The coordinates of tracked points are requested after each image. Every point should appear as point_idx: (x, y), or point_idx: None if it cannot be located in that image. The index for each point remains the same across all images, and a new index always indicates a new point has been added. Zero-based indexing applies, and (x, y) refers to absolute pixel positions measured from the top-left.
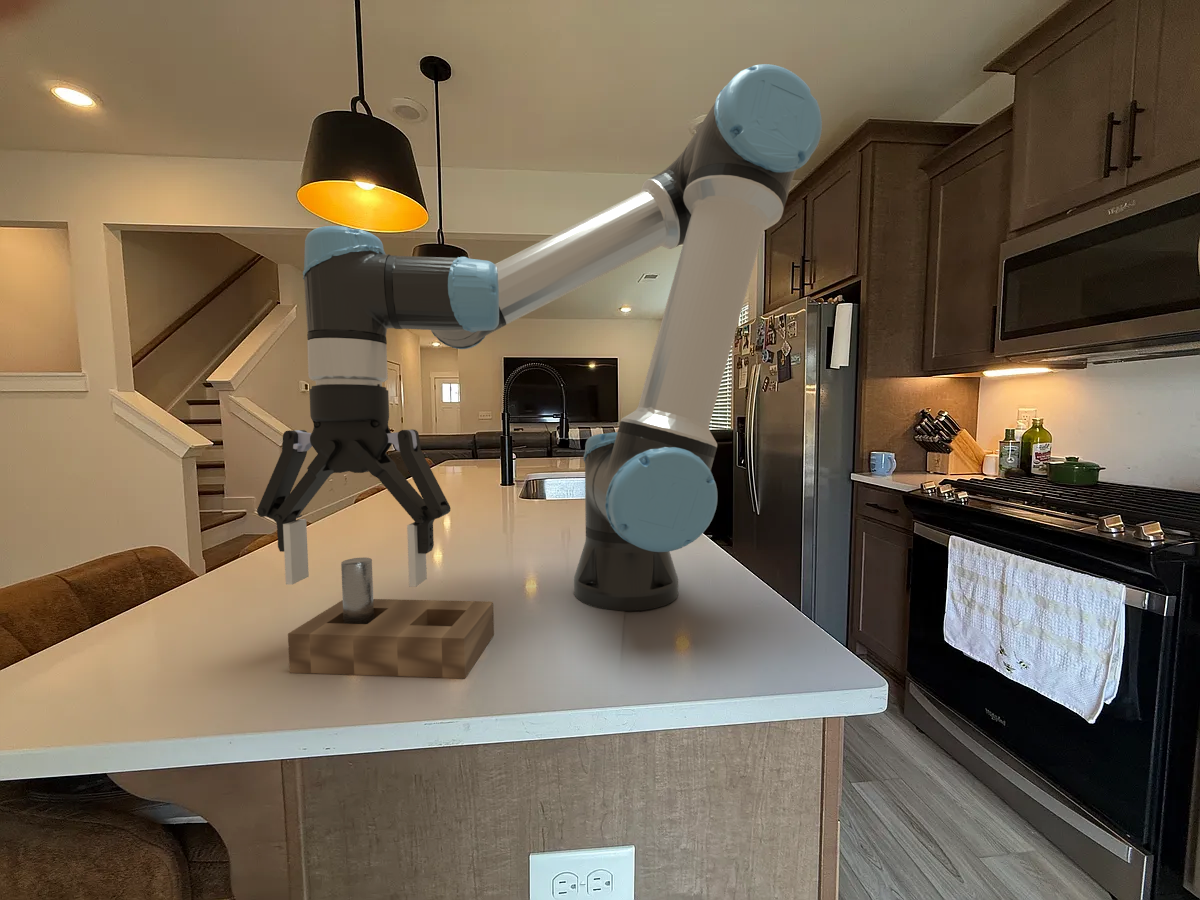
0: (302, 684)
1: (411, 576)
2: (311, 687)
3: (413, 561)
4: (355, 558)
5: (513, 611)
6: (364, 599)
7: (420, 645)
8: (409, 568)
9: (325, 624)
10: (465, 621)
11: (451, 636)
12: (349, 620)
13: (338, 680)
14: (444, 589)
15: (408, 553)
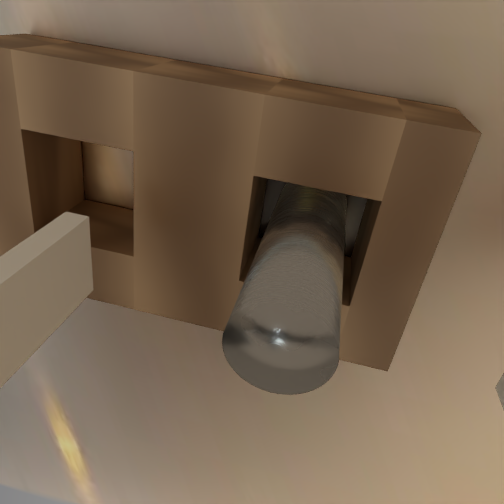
0: (402, 49)
1: (59, 231)
2: (373, 30)
3: (9, 254)
4: (300, 388)
5: (58, 343)
6: (264, 241)
7: (80, 56)
8: (45, 244)
9: (380, 190)
10: (2, 158)
11: None
12: (316, 210)
13: (317, 63)
14: (233, 473)
15: (5, 276)
